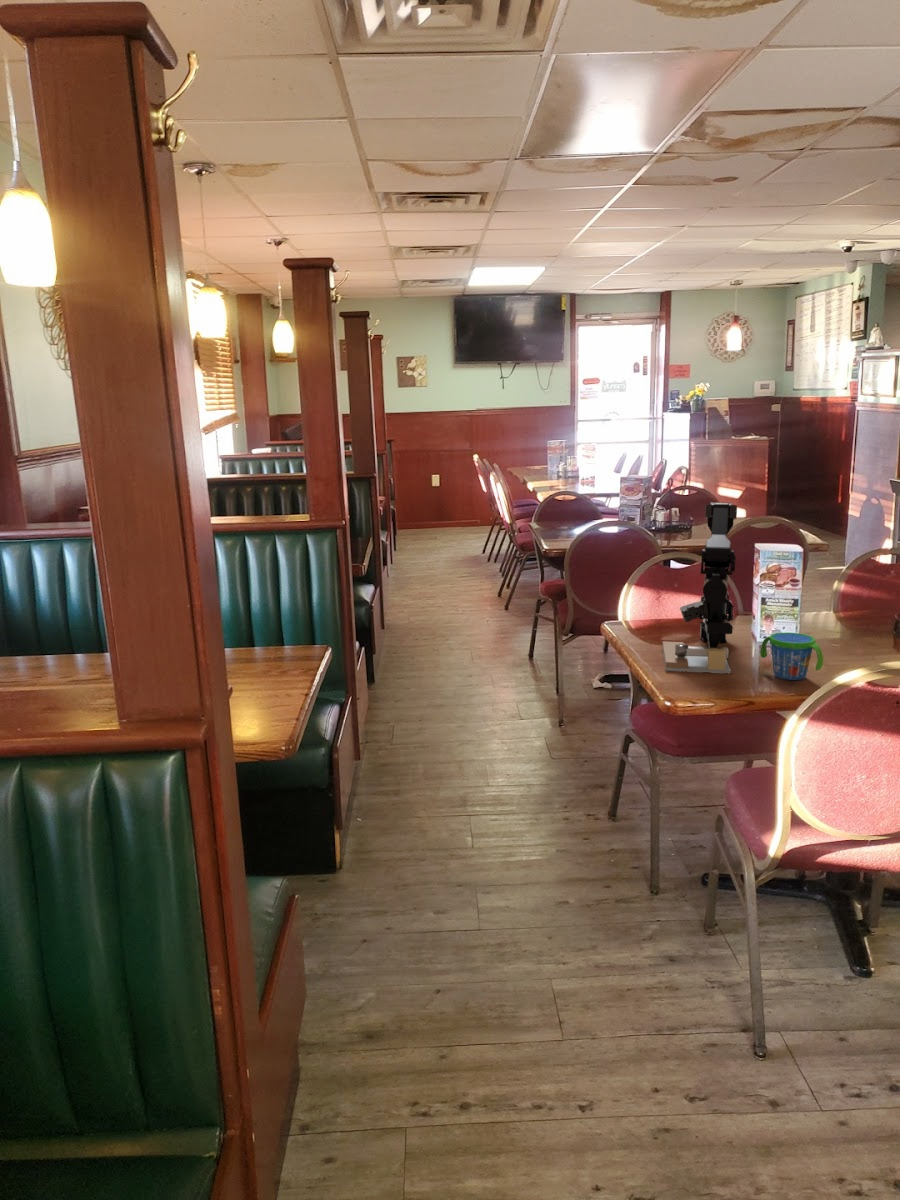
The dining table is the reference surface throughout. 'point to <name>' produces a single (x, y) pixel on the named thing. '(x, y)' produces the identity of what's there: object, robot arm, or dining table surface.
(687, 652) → the latch bar
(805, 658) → the snack cup
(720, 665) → the door board
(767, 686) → the dining table surface
